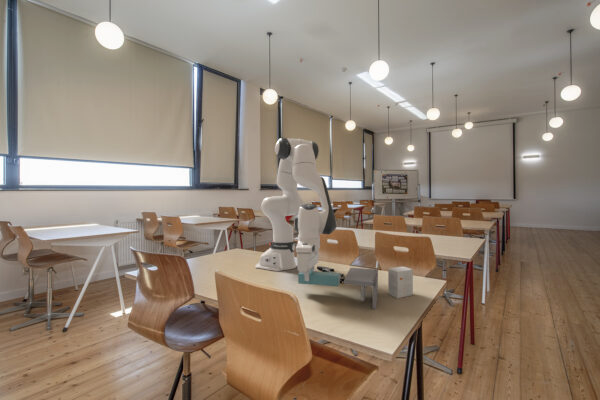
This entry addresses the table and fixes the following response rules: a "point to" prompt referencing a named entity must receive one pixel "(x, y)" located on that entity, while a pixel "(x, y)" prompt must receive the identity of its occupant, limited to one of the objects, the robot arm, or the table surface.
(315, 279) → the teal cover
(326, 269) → the black toy gun
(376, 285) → the overhang shelf
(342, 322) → the table surface
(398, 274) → the small box
